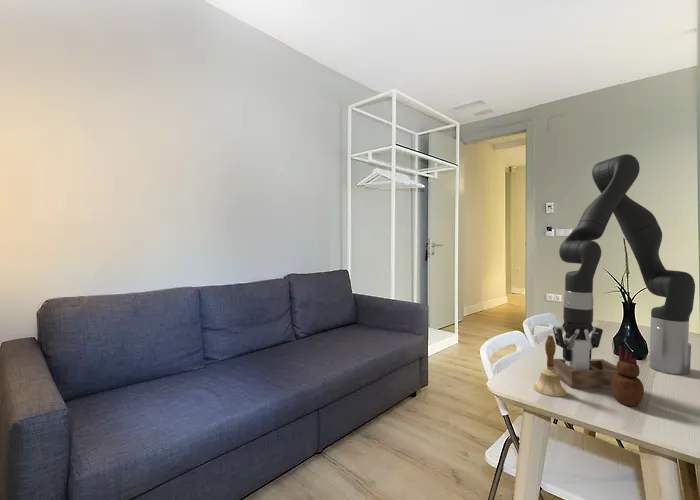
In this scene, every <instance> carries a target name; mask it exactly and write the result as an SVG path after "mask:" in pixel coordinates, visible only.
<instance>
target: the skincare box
mask: <svg viewBox="0 0 700 500" xmlns="http://www.w3.org/2000/svg"><path fill="white" fill-rule="evenodd" d="M569 339H570V337H569ZM570 350H571V361H570V362H568V361H565V364H567V365H568V366H570V367H572V368H573V369H575V370H589V355H590V342H589V341H586V340H582V339H577V340H575V341H574V343H573V344H572V346H571V348H570Z"/></svg>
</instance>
